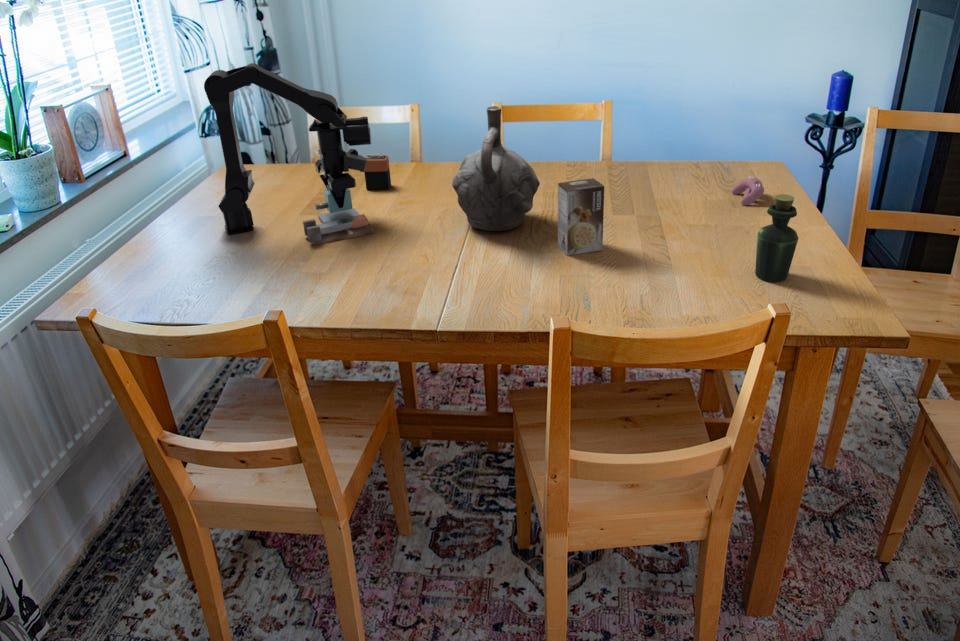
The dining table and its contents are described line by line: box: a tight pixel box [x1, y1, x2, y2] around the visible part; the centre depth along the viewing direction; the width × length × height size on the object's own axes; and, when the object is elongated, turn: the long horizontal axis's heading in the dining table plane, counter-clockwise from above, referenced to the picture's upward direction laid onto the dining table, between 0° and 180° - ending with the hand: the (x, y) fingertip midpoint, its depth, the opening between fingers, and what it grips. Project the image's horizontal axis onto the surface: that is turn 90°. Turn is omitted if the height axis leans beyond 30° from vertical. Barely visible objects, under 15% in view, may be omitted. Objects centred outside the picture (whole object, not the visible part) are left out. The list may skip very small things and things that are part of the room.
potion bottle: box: [754, 193, 799, 283], centre depth 158 cm, size 8×8×18 cm
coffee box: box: [557, 177, 605, 256], centre depth 175 cm, size 9×6×16 cm
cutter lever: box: [311, 213, 369, 234], centre depth 190 cm, size 15×3×2 cm, turn 113°
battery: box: [363, 153, 392, 191], centre depth 218 cm, size 4×7×10 cm, turn 86°
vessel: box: [451, 105, 541, 232], centre depth 185 cm, size 24×22×30 cm
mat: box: [317, 207, 361, 224], centre depth 199 cm, size 10×10×1 cm
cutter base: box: [302, 218, 375, 246], centre depth 190 cm, size 16×6×4 cm, turn 113°
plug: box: [315, 188, 354, 213], centre depth 196 cm, size 9×4×5 cm, turn 113°
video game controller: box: [731, 176, 765, 207], centre depth 201 cm, size 10×5×7 cm, turn 0°
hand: (338, 205), depth 197 cm, fingers closed on plug, 4 cm apart
